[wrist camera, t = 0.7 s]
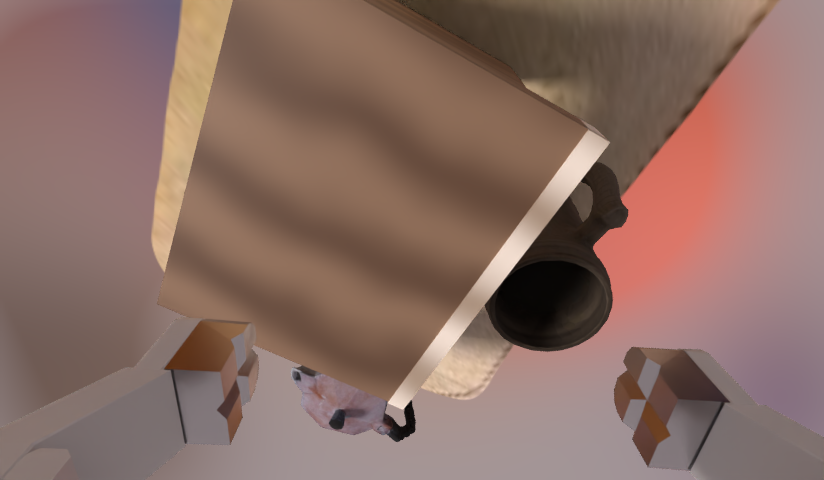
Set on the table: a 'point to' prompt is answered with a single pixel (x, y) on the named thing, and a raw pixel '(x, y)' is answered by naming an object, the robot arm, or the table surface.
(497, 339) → the table surface
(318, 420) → the moka pot
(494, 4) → the table surface
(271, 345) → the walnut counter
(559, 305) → the beer stein
